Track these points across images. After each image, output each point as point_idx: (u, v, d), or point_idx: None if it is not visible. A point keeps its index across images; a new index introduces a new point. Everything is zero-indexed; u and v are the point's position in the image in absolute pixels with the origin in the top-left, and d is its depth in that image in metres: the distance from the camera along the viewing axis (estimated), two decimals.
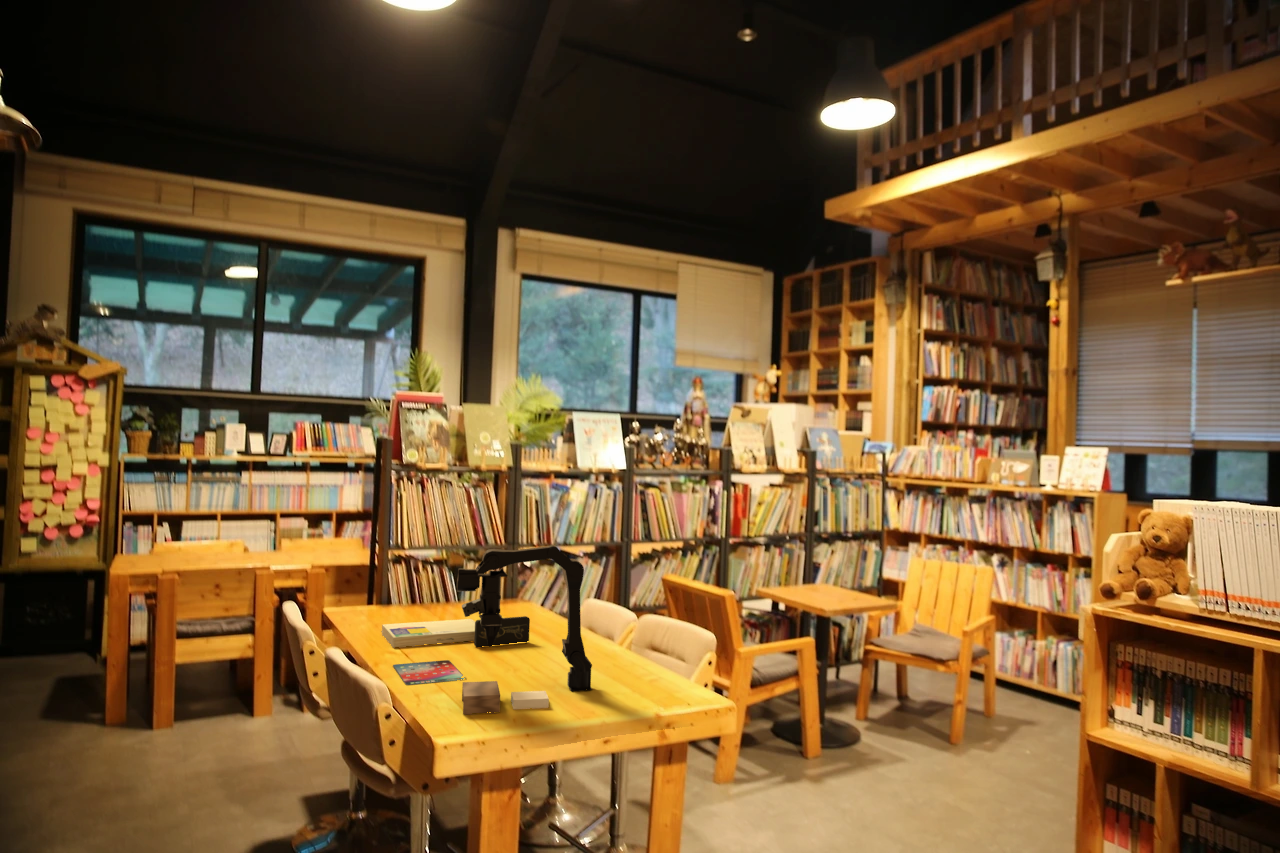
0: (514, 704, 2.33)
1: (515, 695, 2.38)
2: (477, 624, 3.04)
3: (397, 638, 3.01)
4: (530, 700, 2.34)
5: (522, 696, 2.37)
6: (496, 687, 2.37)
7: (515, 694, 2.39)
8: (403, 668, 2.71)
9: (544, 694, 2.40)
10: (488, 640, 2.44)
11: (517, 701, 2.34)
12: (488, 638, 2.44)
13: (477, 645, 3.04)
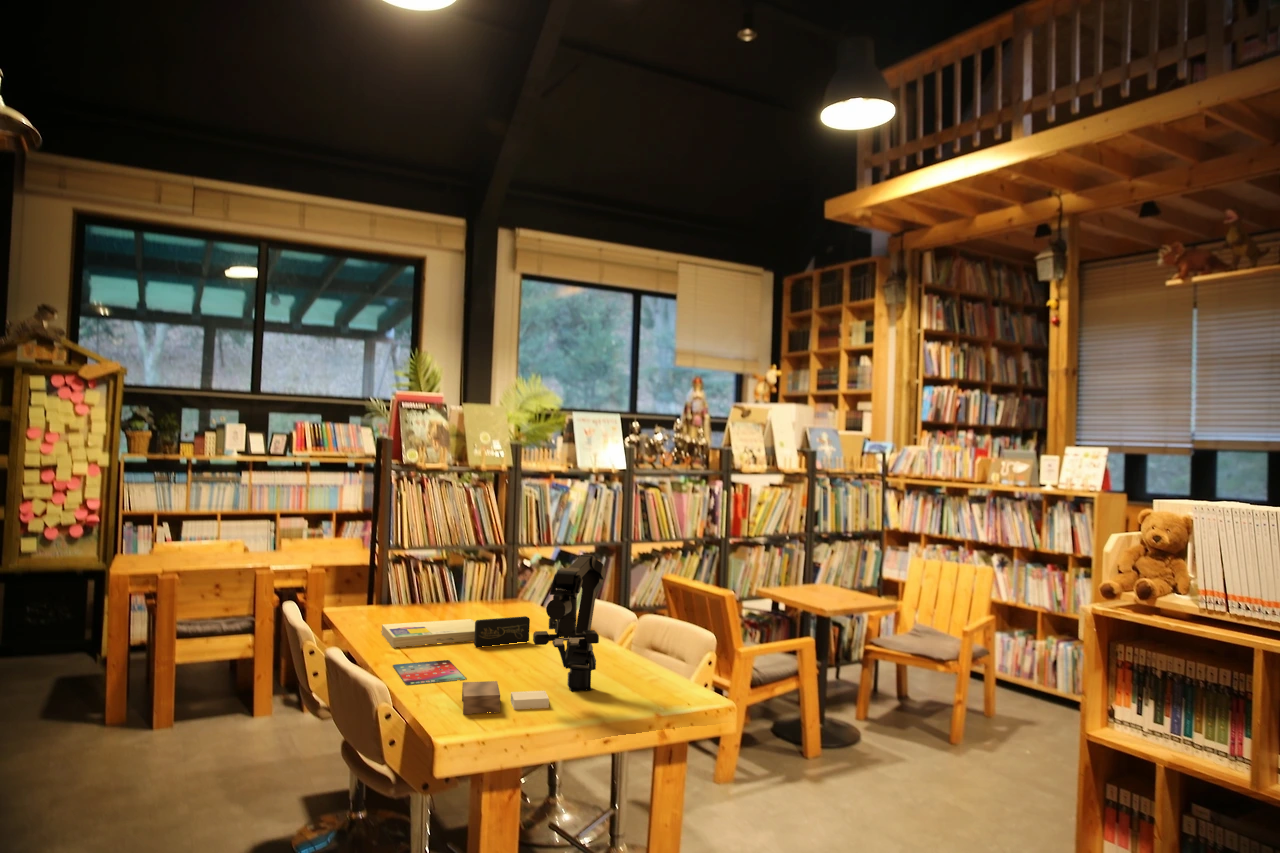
0: (514, 704, 2.33)
1: (515, 695, 2.38)
2: (477, 624, 3.04)
3: (397, 638, 3.01)
4: (530, 700, 2.34)
5: (522, 696, 2.37)
6: (496, 687, 2.37)
7: (515, 694, 2.39)
8: (403, 668, 2.71)
9: (544, 694, 2.40)
10: None
11: (517, 701, 2.33)
12: (561, 657, 2.41)
13: (477, 645, 3.04)
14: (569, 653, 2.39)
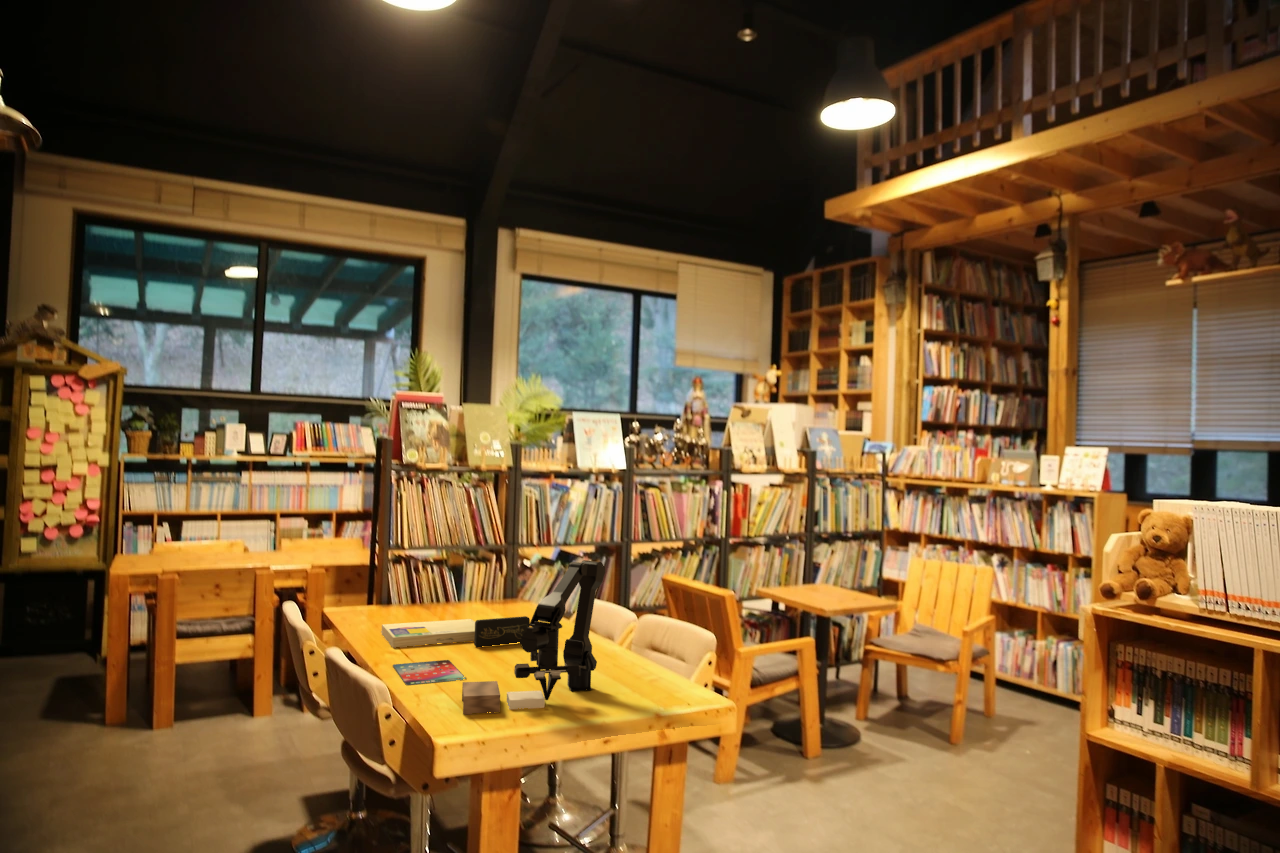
0: (510, 704, 2.33)
1: (511, 695, 2.38)
2: (477, 624, 3.04)
3: (397, 638, 3.01)
4: (526, 700, 2.34)
5: (518, 696, 2.37)
6: (496, 687, 2.37)
7: (510, 694, 2.39)
8: (403, 668, 2.71)
9: (540, 694, 2.40)
10: None
11: (513, 701, 2.33)
12: None
13: (477, 645, 3.04)
14: (550, 686, 2.38)
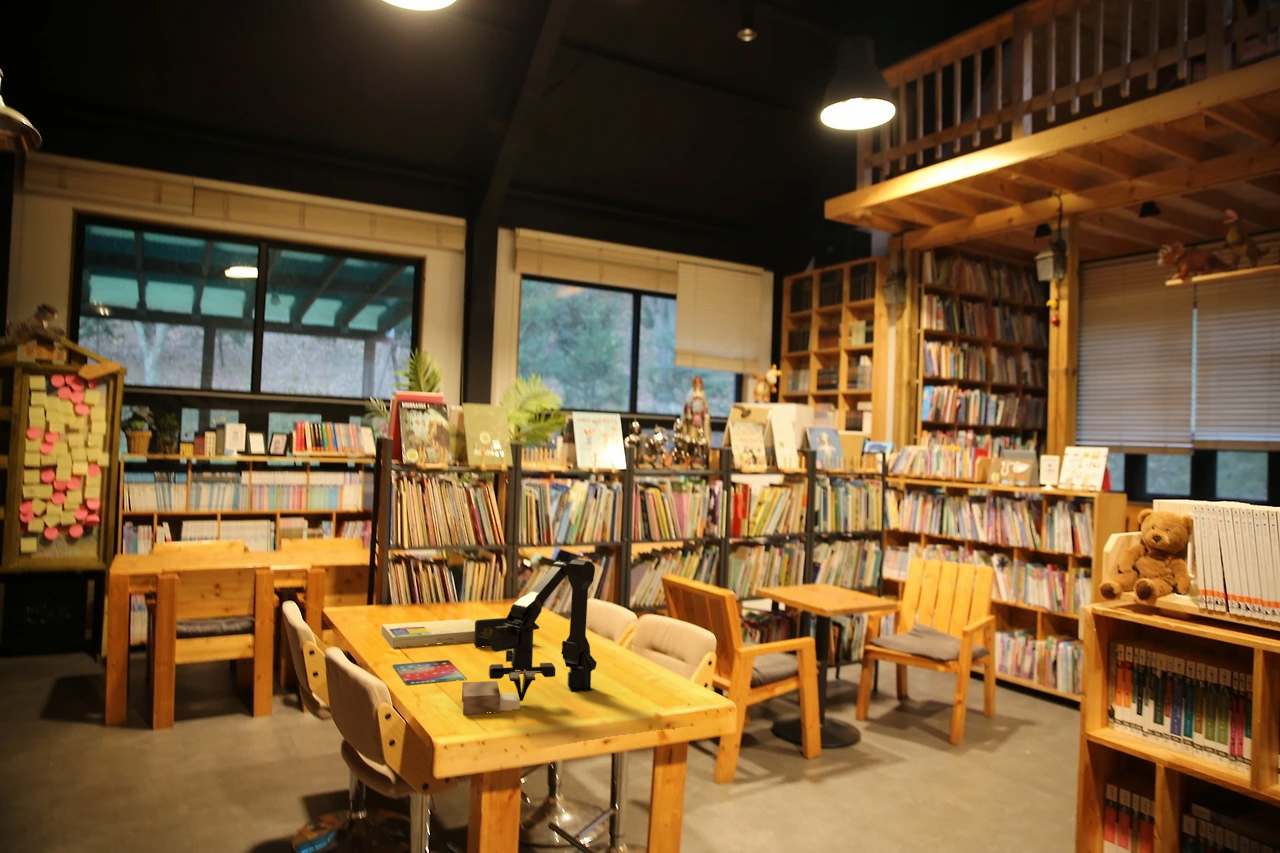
0: None
1: None
2: (477, 624, 3.04)
3: (397, 638, 3.01)
4: (501, 702, 2.32)
5: None
6: (496, 687, 2.37)
7: None
8: (403, 668, 2.71)
9: (514, 696, 2.37)
10: None
11: None
12: None
13: (477, 645, 3.04)
14: (525, 687, 2.36)
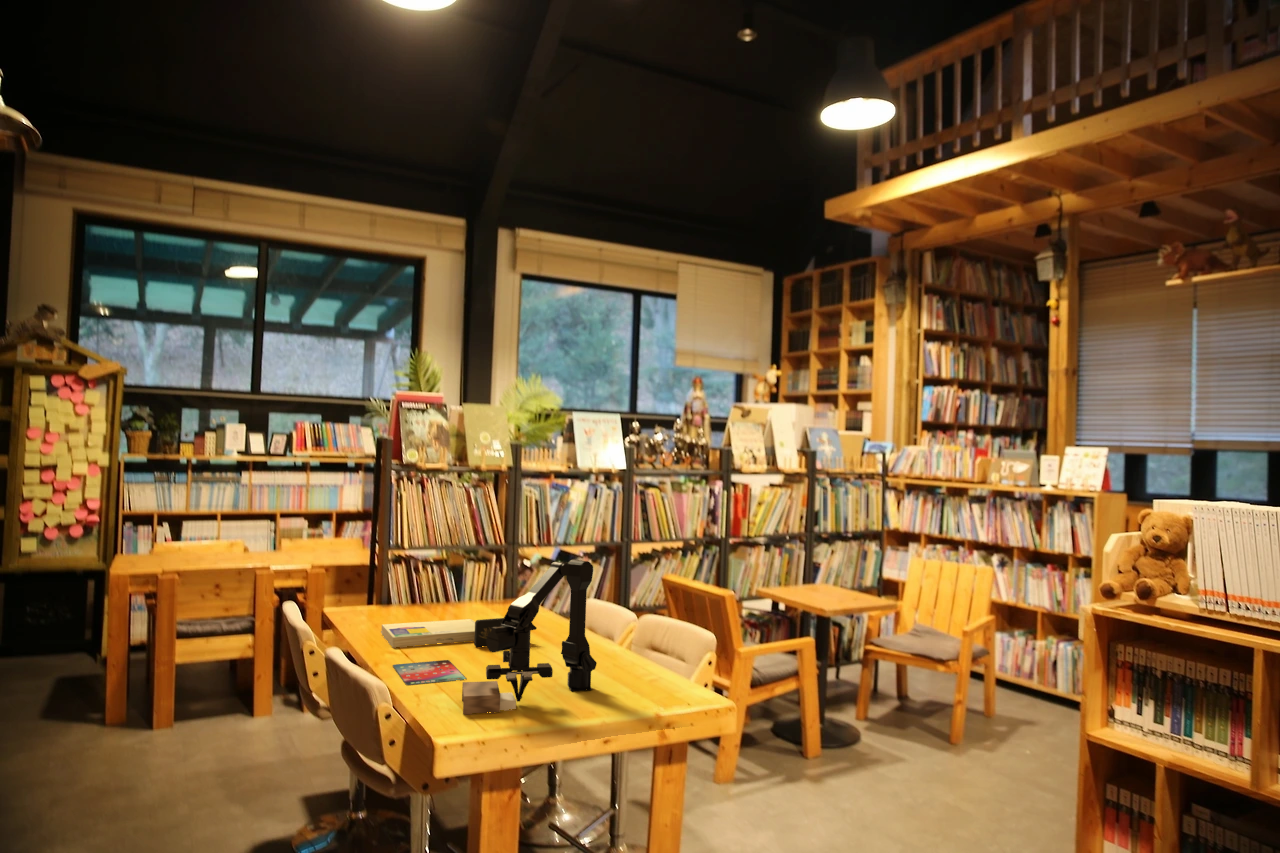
0: None
1: None
2: (477, 624, 3.04)
3: (397, 638, 3.01)
4: None
5: None
6: (496, 687, 2.37)
7: None
8: (403, 668, 2.71)
9: (511, 696, 2.37)
10: None
11: None
12: None
13: (477, 645, 3.04)
14: (522, 687, 2.36)
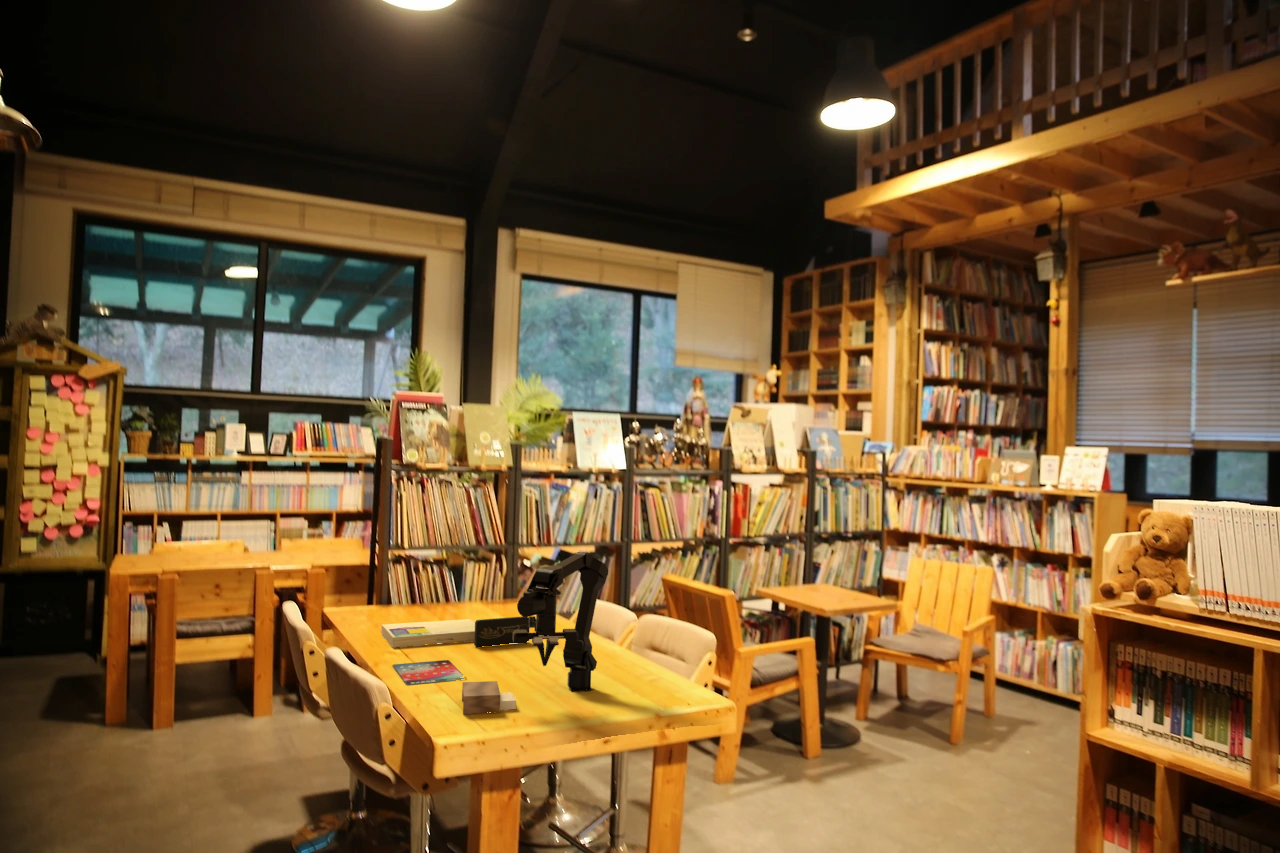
0: None
1: None
2: (477, 624, 3.04)
3: (396, 638, 3.00)
4: None
5: None
6: (496, 687, 2.37)
7: None
8: (403, 668, 2.71)
9: (511, 696, 2.37)
10: (541, 658, 2.40)
11: None
12: None
13: (477, 645, 3.04)
14: (548, 652, 2.38)
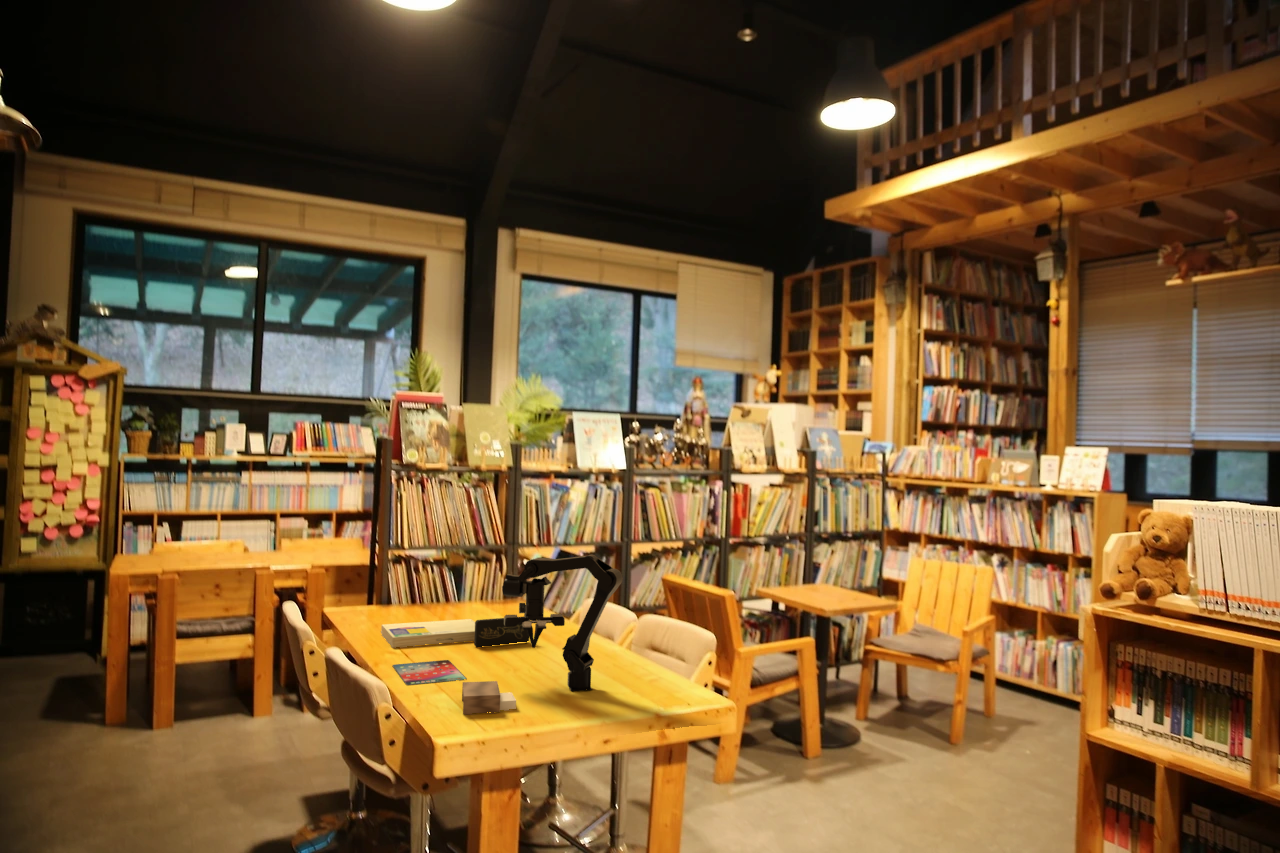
0: None
1: None
2: (477, 624, 3.04)
3: (396, 638, 3.00)
4: None
5: None
6: (496, 687, 2.37)
7: None
8: (403, 668, 2.71)
9: (511, 696, 2.37)
10: (530, 641, 2.61)
11: None
12: None
13: (477, 645, 3.04)
14: (537, 635, 2.59)
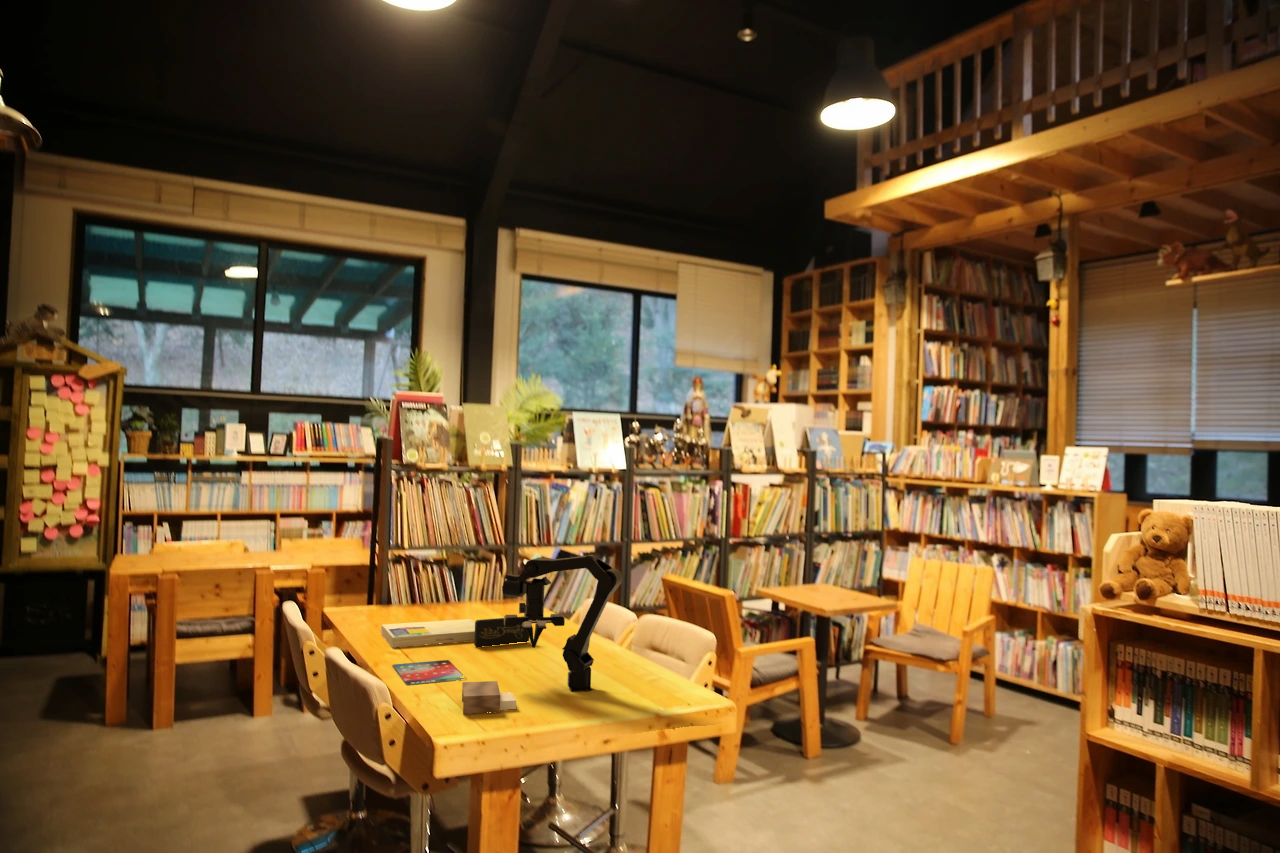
0: None
1: None
2: (477, 624, 3.04)
3: (396, 638, 3.00)
4: None
5: None
6: (496, 687, 2.37)
7: None
8: (403, 668, 2.71)
9: (511, 696, 2.37)
10: (530, 641, 2.61)
11: None
12: None
13: (477, 645, 3.04)
14: (537, 635, 2.59)
